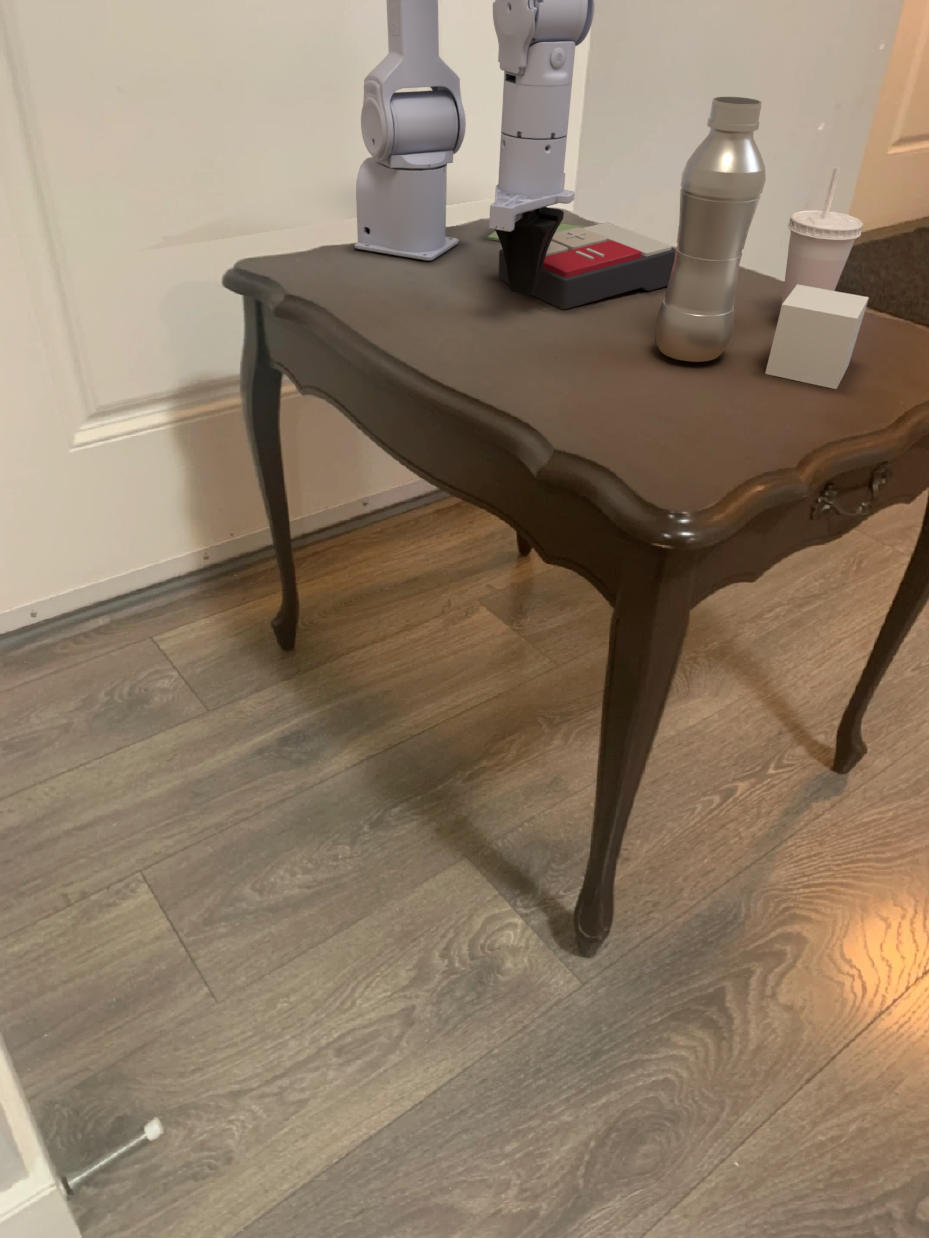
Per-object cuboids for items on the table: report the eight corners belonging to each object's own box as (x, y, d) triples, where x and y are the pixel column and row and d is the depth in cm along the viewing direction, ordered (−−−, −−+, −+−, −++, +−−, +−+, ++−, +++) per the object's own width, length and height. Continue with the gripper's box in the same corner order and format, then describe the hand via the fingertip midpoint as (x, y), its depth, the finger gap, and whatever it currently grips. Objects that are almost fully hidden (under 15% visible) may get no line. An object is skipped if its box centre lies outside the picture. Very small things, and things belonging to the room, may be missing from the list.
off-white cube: (764, 374, 80) (781, 304, 76) (780, 351, 84) (796, 284, 80) (837, 389, 78) (857, 318, 74) (849, 365, 82) (869, 297, 78)
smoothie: (753, 324, 89) (789, 165, 81) (785, 308, 93) (822, 155, 85) (815, 342, 86) (859, 179, 77) (845, 325, 90) (891, 168, 81)
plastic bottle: (636, 347, 83) (675, 95, 71) (699, 339, 86) (747, 92, 74) (676, 375, 79) (725, 110, 67) (742, 365, 81) (800, 106, 69)
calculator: (497, 242, 95) (608, 216, 102) (496, 284, 98) (604, 256, 104) (565, 272, 88) (680, 242, 95) (563, 317, 91) (674, 284, 97)
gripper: (551, 154, 74) (537, 323, 82) (602, 124, 84) (585, 276, 93) (469, 144, 76) (463, 310, 84) (528, 116, 86) (518, 265, 95)
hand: (522, 291), depth 88 cm, fingers closed
